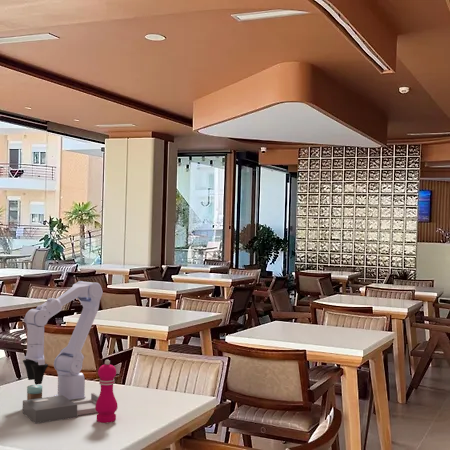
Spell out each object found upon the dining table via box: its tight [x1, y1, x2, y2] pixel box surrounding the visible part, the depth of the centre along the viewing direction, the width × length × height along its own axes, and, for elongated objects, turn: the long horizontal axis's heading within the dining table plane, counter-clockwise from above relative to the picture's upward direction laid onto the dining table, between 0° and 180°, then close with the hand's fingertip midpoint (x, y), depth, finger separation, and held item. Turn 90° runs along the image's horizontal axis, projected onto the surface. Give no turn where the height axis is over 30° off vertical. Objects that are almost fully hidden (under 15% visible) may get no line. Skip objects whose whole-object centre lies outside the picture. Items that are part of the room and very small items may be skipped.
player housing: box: [22, 395, 78, 424], centre depth 221 cm, size 14×14×4 cm
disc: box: [26, 384, 43, 394], centre depth 231 cm, size 5×5×2 cm
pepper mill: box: [95, 359, 118, 424], centre depth 216 cm, size 7×7×20 cm
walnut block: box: [26, 392, 43, 400], centre depth 231 cm, size 4×4×5 cm
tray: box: [73, 392, 99, 416], centre depth 227 cm, size 14×14×3 cm
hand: (34, 381), depth 231 cm, fingers open, 7 cm apart
